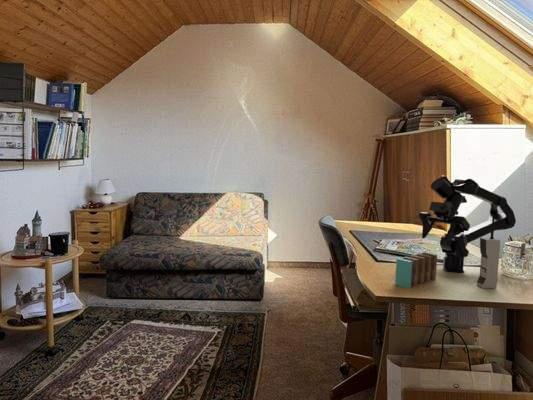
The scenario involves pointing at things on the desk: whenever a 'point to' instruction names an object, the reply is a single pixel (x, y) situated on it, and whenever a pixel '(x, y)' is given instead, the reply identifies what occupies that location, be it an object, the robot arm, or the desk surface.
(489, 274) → the vintage mobile phone
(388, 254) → the desk surface
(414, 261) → the domino
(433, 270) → the domino
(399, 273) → the domino
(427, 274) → the domino
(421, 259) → the domino
